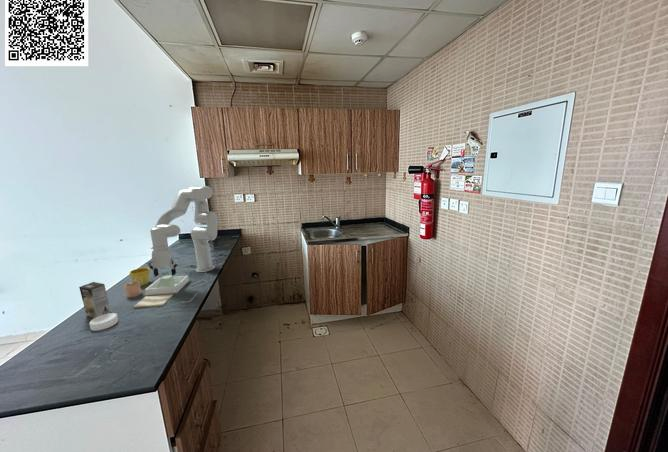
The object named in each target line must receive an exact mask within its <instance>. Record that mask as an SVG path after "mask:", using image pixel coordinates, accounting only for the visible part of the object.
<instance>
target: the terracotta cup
mask: <svg viewBox="0 0 668 452" xmlns="http://www.w3.org/2000/svg"><path fill="white" fill-rule="evenodd" d="M141 287H142V286H140V282H139V281H133V280H132V281H128V282H126V283H124V291H125V296H126V298H127V299H129V298H130V299H131V298H137V297H139V296H141V295H142V293H143V292H142V288H141Z"/></svg>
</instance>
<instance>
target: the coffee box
mask: <svg viewBox="0 0 668 452" xmlns="http://www.w3.org/2000/svg"><path fill="white" fill-rule="evenodd" d="M78 288H79V292H80V297H81V299H82V303H83V307H84V312H85V314H86V317H88V318H89V317H90V318H92V319H94V318H96V317H98V316H101V315H104V314H108V313H111V306H110V302H109V299H108V294H107V289H106V285H105V283H102V282H96V281H92V282H89V283H87V284H84V285H81V286H79V287H78Z"/></svg>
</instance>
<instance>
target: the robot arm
mask: <svg viewBox="0 0 668 452" xmlns="http://www.w3.org/2000/svg"><path fill="white" fill-rule="evenodd" d="M213 193H214V192H213V189H212V188H211V187H210V186H208V185H202V186H201V185H198V186H197V185H196V186H195V185H193V186H190V187H188V188H185V189H180V190H179V191H178V193H177V195H176V197H175V199H174V202H173V203H172V206H171V207H170V208H169V209H168V210H166V212H164V213H163V214H162V215H161V216H160V217H159V219H158V220H157V222H156V224H155V226H154V227H152V228H150V229H149V230H150V236H151V241H152V242H151V243H152V246H150V250H151V249H152V251H151V261H149V262H148V263H147V266H148V268H149V269H150V270H152V271H153V275H154V278H155V277H159V275H160V273H159V269H158V268H170V269H171V270H170V271H171V275H172V276H173V277H174V276H175V275H176V274H177V271H176V268H177V266H178V265H179V263H180V260H178V259H175V258H173V256H174V255H173V254H172V251H171V248H170V247H169V243H168V238H175V237H177V236H178V235H179V234H180V233H181V228H180V226H178V225H177V224H171V222H173V220H175V219H178V218H180V217H182V216H184V215H186V213H187V211H188V208H189V207H190V204H191V203H194V216H193V217H194V221H193V222H194V223H195V224H196V225H200V226H196V227H193V228H192V229H191V231H190V236H191V240H192V241H193V246H194V251H195V258H196V265H197V267H196V268H195V271H196V272H197V273H205V272H206V273H207V272H209V271H212V270H214V269H215V268H216V266H215V265H214V264H213V263H212V262H213V259H212V255H211V248H210V243H209V242H208V241H214V240H216V238H217V236H218V229H219V228H218V226H219V218H218V214H217V213H216V212H214V211H209V204H208V202H207V200H208V199H210V198H211V197H212V196H213Z"/></svg>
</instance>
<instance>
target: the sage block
mask: <svg viewBox="0 0 668 452" xmlns="http://www.w3.org/2000/svg"><path fill="white" fill-rule="evenodd" d="M173 277H174V275H173V276H172V274H171V275H170V274H169V275H164V276H162V277H160V278H161V279H160V282H161V287H173V286H175V284H174V278H173Z"/></svg>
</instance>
